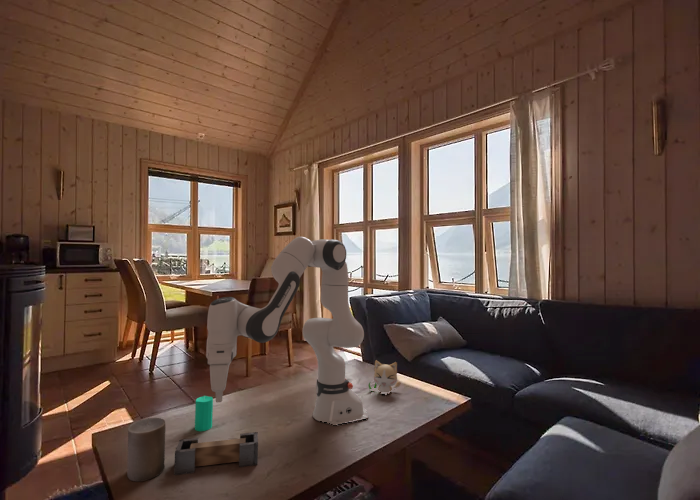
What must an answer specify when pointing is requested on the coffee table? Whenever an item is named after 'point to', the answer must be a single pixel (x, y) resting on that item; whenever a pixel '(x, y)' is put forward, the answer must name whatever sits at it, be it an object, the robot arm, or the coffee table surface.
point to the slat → (217, 451)
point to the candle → (203, 413)
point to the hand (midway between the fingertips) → (220, 395)
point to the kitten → (385, 376)
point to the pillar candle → (146, 449)
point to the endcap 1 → (185, 457)
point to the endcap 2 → (249, 449)
